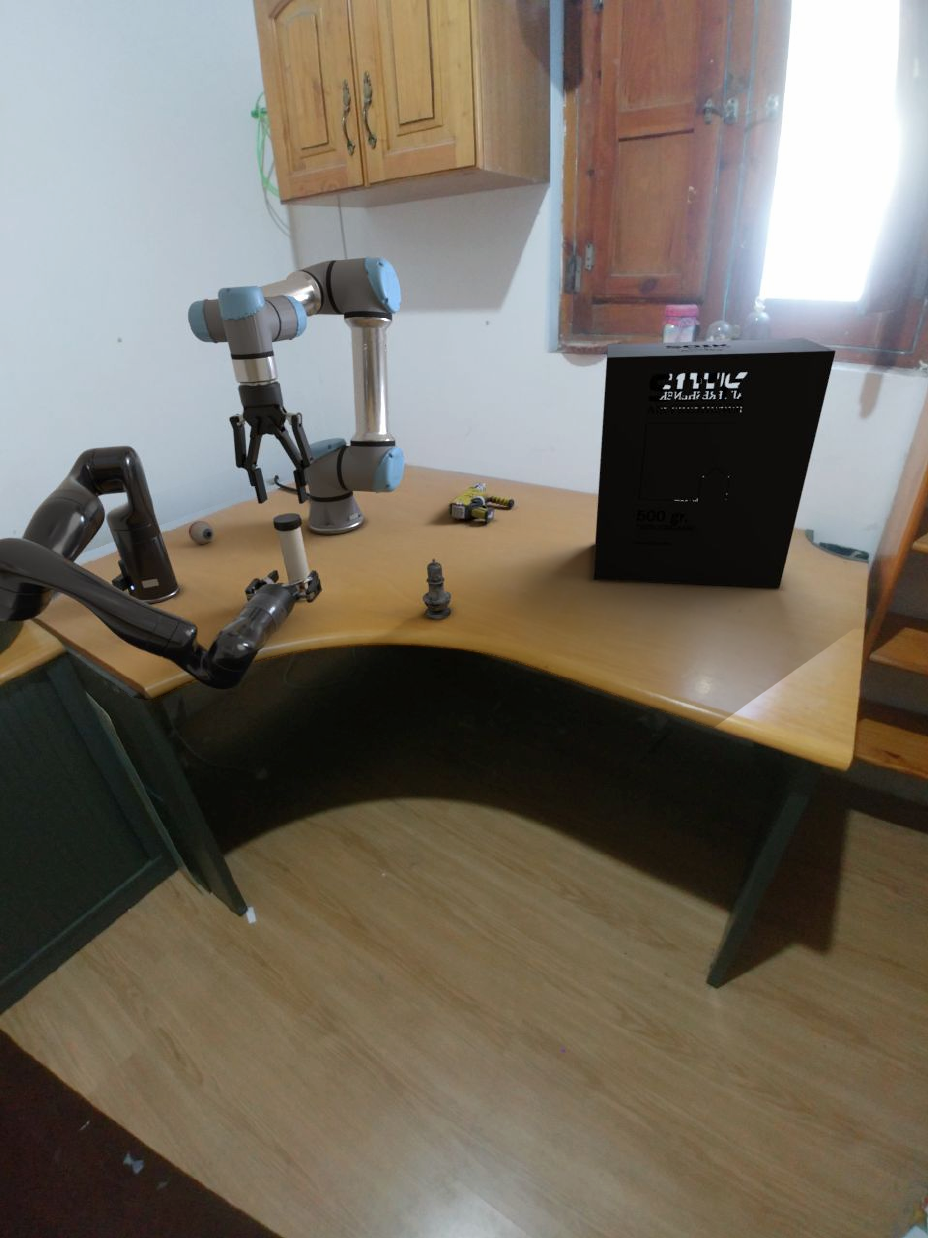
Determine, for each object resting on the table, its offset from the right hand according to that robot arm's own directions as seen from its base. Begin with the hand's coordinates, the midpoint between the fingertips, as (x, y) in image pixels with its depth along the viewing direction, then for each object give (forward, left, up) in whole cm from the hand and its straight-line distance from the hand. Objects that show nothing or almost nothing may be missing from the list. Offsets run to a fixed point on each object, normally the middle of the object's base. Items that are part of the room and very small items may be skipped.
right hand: (283, 501), depth 122 cm
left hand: (+1, -1, -16) cm, 16 cm away
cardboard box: (+44, +72, -22) cm, 87 cm away
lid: (0, 0, -4) cm, 4 cm away
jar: (0, 0, -22) cm, 22 cm away
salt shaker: (+26, +18, -22) cm, 39 cm away
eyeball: (-48, -8, -22) cm, 53 cm away
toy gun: (-14, +63, -22) cm, 68 cm away
